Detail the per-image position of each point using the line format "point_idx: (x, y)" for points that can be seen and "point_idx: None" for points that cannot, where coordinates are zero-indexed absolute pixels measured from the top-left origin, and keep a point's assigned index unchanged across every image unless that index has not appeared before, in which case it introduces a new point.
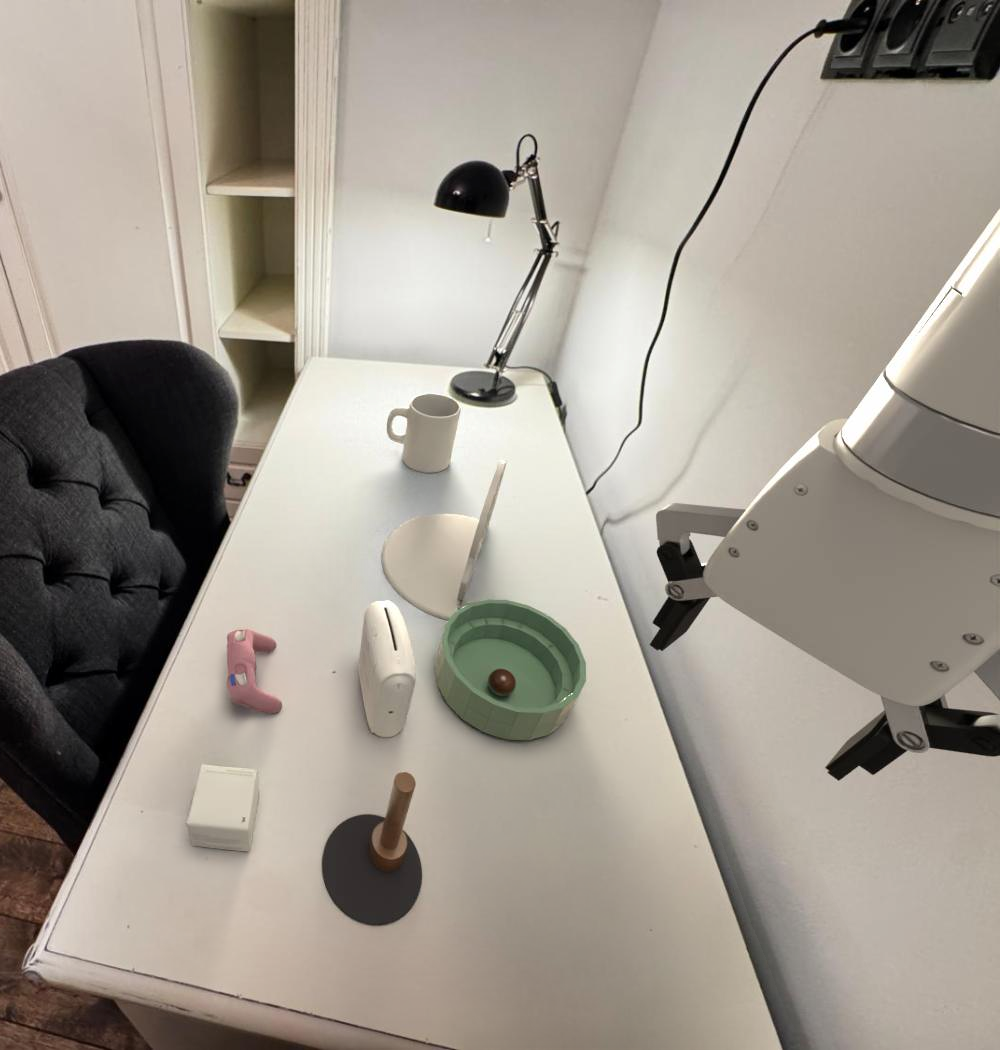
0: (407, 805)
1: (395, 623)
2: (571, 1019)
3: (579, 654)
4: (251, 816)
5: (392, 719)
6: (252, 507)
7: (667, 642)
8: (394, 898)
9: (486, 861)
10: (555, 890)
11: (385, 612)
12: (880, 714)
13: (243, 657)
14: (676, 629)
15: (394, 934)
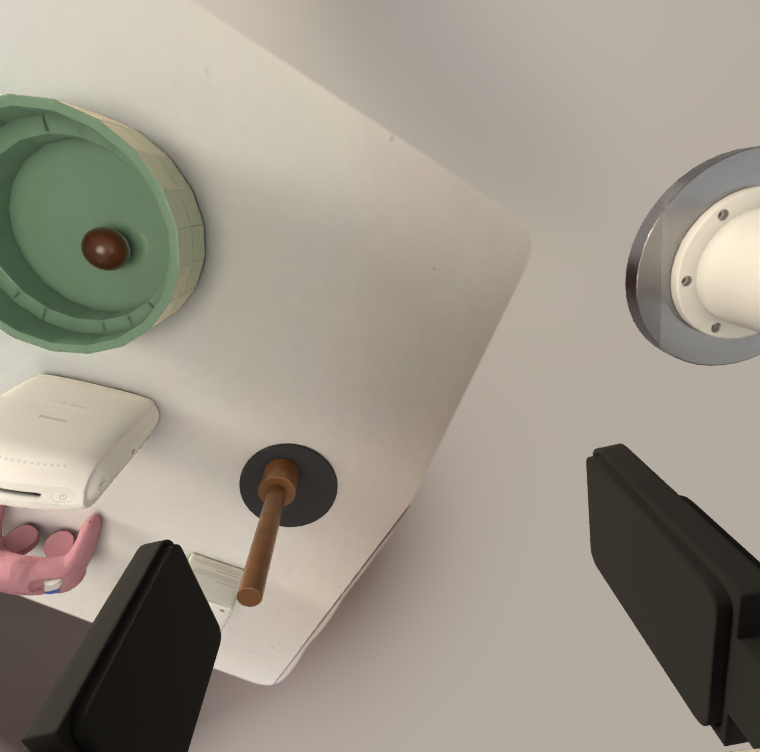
0: (268, 565)
1: None
2: (454, 388)
3: (77, 117)
4: (219, 597)
5: (141, 440)
6: None
7: (210, 671)
8: (321, 481)
9: (320, 385)
10: (368, 337)
11: None
12: (675, 568)
13: (18, 584)
14: (191, 732)
15: (345, 488)
